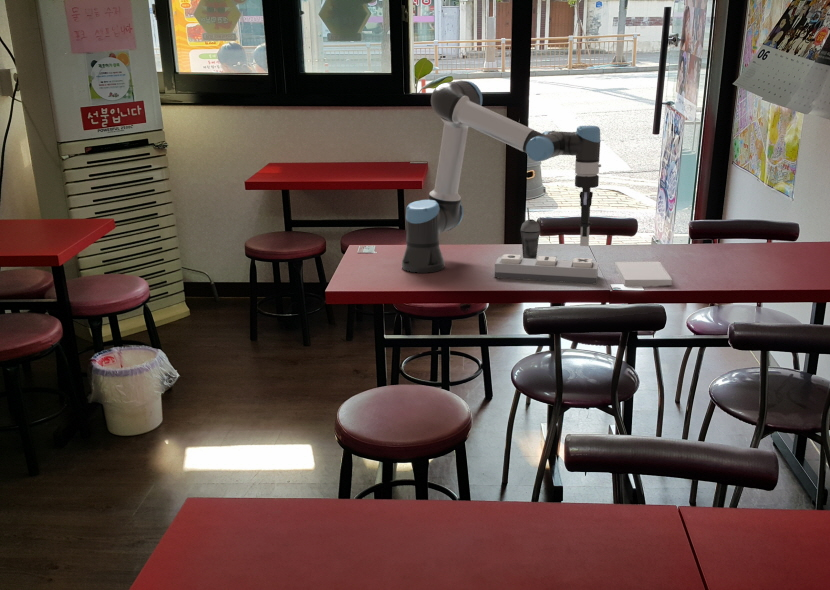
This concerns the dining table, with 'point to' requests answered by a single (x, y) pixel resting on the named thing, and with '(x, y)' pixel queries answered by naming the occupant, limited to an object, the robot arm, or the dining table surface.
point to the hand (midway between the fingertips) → (584, 245)
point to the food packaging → (643, 274)
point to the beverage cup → (530, 238)
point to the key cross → (582, 262)
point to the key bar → (546, 261)
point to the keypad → (546, 271)
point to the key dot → (511, 259)
